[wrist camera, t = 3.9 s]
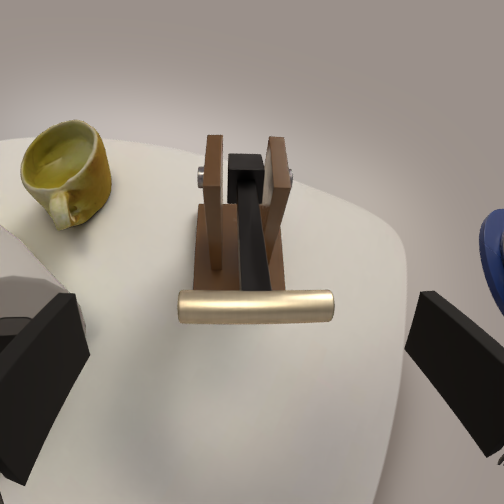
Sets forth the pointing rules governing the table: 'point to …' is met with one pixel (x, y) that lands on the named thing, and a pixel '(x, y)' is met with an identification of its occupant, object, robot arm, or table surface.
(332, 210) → the table surface
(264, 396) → the table surface
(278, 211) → the wooden lever stand
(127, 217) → the table surface
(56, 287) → the alarm clock
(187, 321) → the switch lever
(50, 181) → the mug
